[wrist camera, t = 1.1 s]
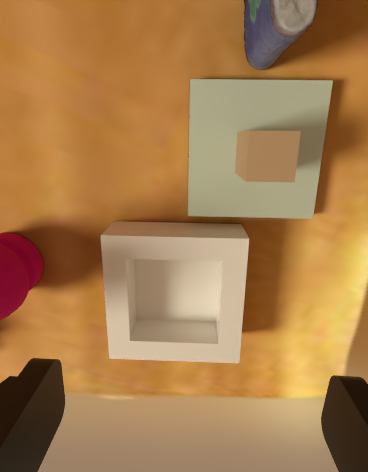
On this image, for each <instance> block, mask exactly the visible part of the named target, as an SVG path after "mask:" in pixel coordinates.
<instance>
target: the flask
mask: <svg viewBox="0 0 368 472" xmlns="http://www.w3.org/2000/svg"><path fill="white" fill-rule="evenodd" d="M244 3H245V12H244V18H245V20H244V24H245V25H244V28H245V32H244V40H245V53H246V58H247V60H248V62H249V64H250V65H251V66H252V67H253V68H255V69H259V70H264V69H267V68H269V67H270V66H271V65H272V64H273V63H274V62H275V61H276V60H277V58H278V57H279V56H280V55H281V54H282V53H283V52H284V51H285V50H286V49H287V48H288V47H289V46H290V45H291V44H292V43H293V42H294V41H295V40H297V39H298V38H299V37H300V36H301V35H302V34H303V33H304V32H306V31H307V29H308V28H309V27H310V26H311V25H312V23H313V20H314V17H315V14H316V9H317V6H318V0H244Z"/></svg>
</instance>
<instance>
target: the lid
mask: <svg viewBox="0 0 368 472" xmlns="http://www.w3.org/2000/svg"><path fill="white" fill-rule="evenodd" d="M332 84H333V80H236V79H190V125H189V181H188V216H209V217H255V218H301V219H313V215H314V208H315V201H316V194H317V187H318V180H319V174H320V167H321V160H322V153H323V146H324V139H325V132H326V125H327V118H328V111H329V105H330V98H331V91H332Z"/></svg>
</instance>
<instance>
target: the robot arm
mask: <svg viewBox="0 0 368 472" xmlns="http://www.w3.org/2000/svg"><path fill="white" fill-rule="evenodd" d="M64 407H65V394H64V385H63V376H62V366H61V362H60V360H58V359H39V358H33V359H31V360H30V361H29V362H28V363H27V365H26V366H25V367H24V369H23V370H22V372H21V373H20V374H19V376H18V377H15V376H10V377H8V378H7V379H6V380H4V381H3V382H2V383H0V472H37V471H38V469H39V467H40V465H41V463H42V461H43V459H44V457H45V455H46V452H47V450H48V448H49V446H50V444H51V441H52V440H53V437H54V435H55V433H56V431H57V429H58V427H59V424H60V422H61V419H62V416H63V412H64ZM321 423H322V430H323V435H324V438H325V441H326V443H327V445H328V448H329V450H330V452H331V455H332V457H333V459H334V462H335V464H336V466H337V469H338V471H339V472H368V384H367V383H366V382H365V380H364V379H363V378H361V377H351V376H332V377H331V379H330V381H329V386H328V390H327V394H326V398H325V403H324V407H323V411H322V417H321Z"/></svg>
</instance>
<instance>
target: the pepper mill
mask: <svg viewBox="0 0 368 472" xmlns="http://www.w3.org/2000/svg"><path fill="white" fill-rule="evenodd" d="M42 274H43V260H42V257H41V255H40V252H39V251H38V249H37V248H36V247H35V246H34V245H33V244H32V243H31V242H30V241H29V240H27V239H26V238H24V237H22V236H20V235H17V234H13V233H1V234H0V320H2V319H4V318H5V317H7V316H9V315H10V314H11V313H13V312H14V311H15V310H17V309H18V308H19V307H20V306H21V305H22V303H23V302H24V300H25V298H26V297H27V294H28V291H29V290H30V289H32V288H33V287H34V286H35V285H36V284H37V283H38V282H39V280H40V279H41V276H42Z"/></svg>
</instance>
